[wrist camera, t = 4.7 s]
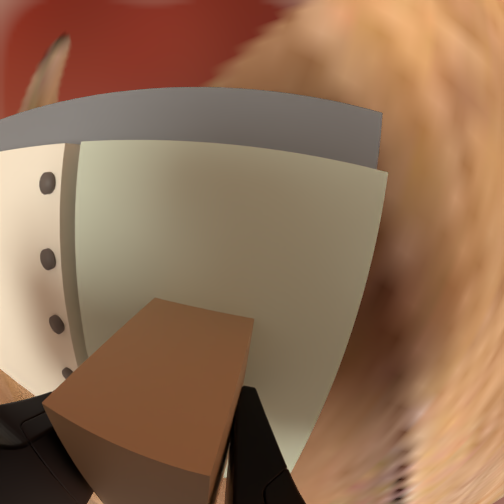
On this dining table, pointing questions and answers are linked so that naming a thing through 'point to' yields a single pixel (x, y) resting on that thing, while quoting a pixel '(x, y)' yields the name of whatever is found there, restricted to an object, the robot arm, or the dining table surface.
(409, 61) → the dining table surface
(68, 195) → the board
